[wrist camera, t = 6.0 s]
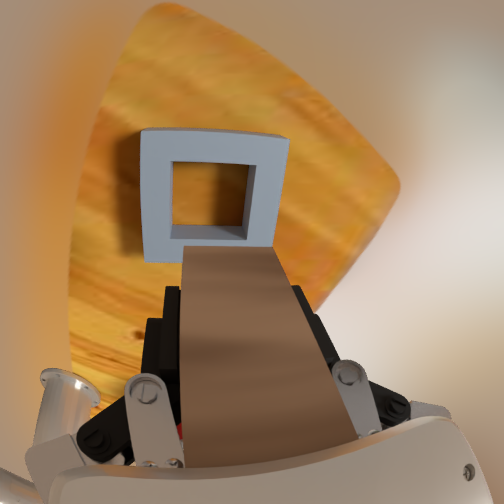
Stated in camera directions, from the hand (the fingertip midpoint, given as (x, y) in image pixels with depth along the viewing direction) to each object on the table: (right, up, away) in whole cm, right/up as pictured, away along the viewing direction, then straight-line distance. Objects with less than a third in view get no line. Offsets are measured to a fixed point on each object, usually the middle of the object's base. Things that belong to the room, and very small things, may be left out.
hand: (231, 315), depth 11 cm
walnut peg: (0, +1, +2) cm, 2 cm away
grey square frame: (-3, +8, +14) cm, 17 cm away
